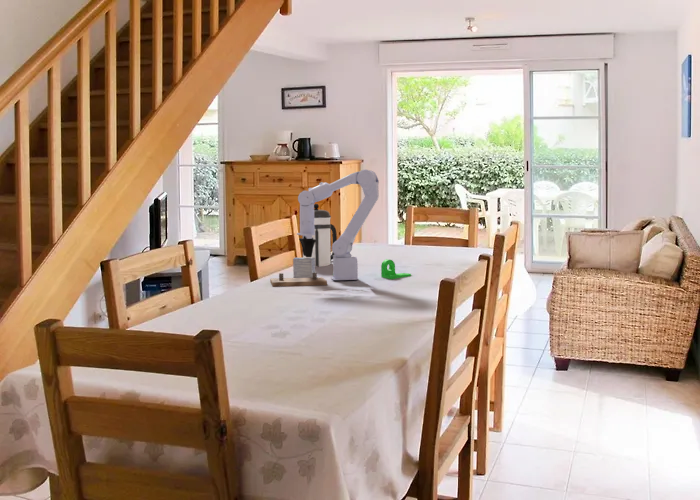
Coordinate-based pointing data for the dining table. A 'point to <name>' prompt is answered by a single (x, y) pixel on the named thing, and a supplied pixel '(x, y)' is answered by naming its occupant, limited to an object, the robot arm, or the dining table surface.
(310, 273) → the medicine box
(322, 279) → the walnut board
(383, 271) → the mechanical part
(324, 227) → the coffee press
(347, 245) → the robot arm
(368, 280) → the dining table surface
